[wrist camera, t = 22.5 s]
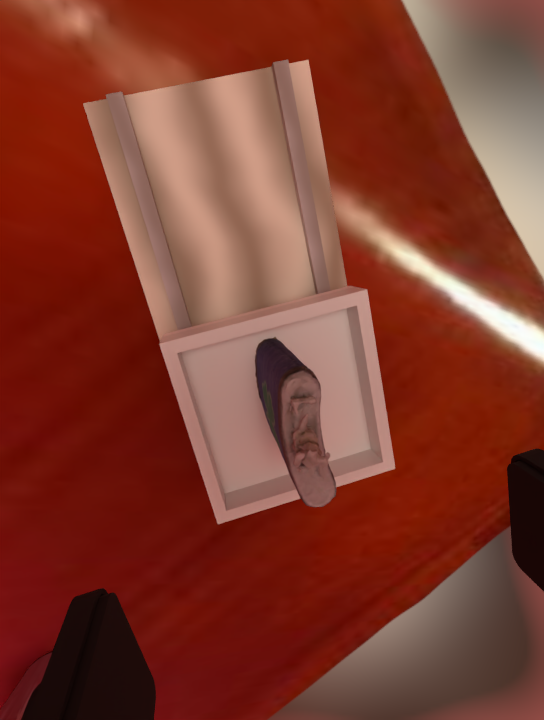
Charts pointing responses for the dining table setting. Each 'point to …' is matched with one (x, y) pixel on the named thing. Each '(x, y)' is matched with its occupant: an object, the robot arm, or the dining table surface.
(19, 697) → the plant pot
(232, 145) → the rail board
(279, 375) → the flask
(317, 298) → the pink rimmed tray
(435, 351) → the dining table surface
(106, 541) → the dining table surface
